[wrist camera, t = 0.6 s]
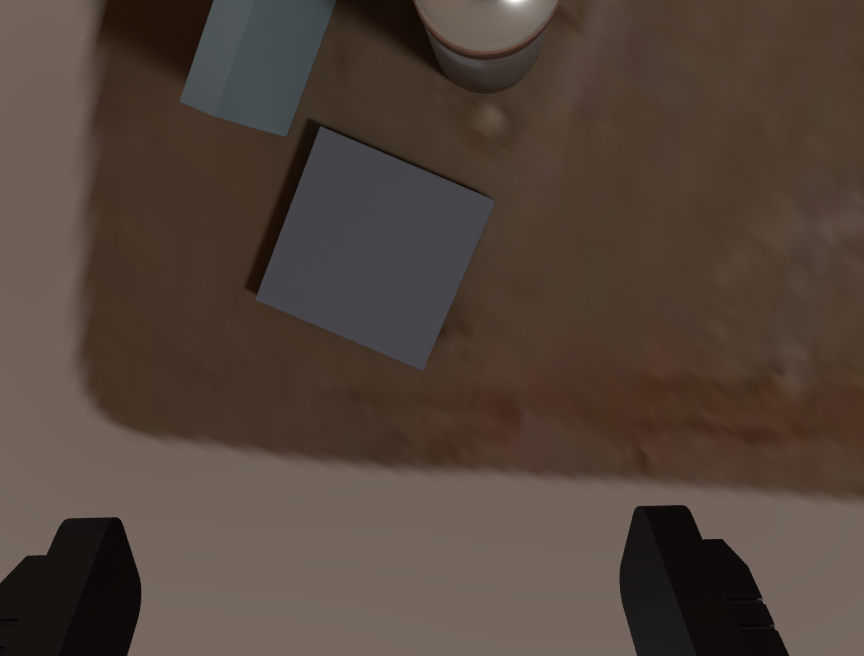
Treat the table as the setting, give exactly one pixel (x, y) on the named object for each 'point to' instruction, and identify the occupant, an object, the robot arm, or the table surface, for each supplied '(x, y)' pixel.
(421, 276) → the dark rubber mat
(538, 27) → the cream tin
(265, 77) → the slate screen
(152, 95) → the table surface
